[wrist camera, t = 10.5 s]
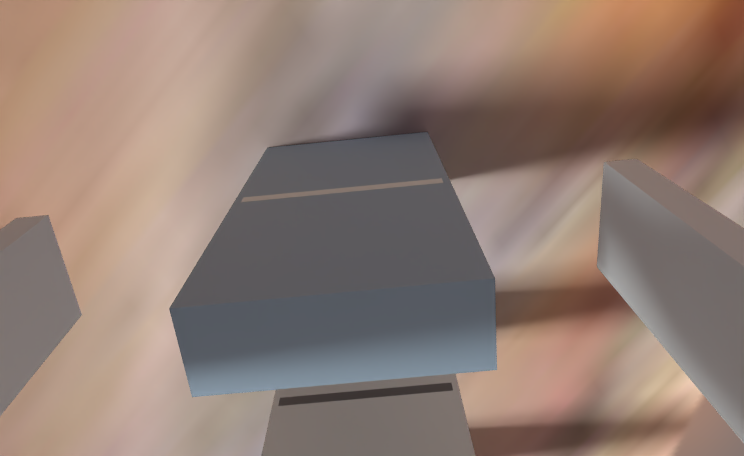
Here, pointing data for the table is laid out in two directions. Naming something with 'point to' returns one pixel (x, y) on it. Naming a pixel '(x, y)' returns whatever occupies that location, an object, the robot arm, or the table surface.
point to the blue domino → (338, 274)
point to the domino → (370, 419)
